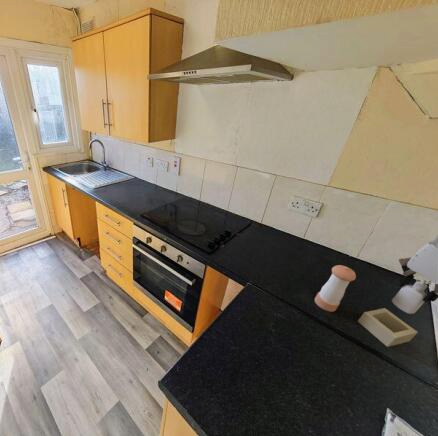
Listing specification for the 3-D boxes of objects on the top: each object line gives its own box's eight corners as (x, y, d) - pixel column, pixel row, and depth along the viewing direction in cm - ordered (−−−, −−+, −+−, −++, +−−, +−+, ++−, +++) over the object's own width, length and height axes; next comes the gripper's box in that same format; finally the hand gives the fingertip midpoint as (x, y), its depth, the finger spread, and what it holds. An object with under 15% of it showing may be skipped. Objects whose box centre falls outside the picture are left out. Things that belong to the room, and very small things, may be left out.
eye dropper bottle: (405, 303, 77) (427, 276, 71) (415, 316, 72) (440, 289, 66) (389, 299, 78) (410, 272, 72) (398, 311, 73) (421, 284, 68)
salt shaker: (334, 315, 86) (359, 277, 77) (312, 304, 91) (333, 267, 81) (337, 303, 91) (360, 267, 82) (316, 294, 95) (336, 258, 86)
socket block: (377, 316, 86) (384, 308, 84) (409, 341, 78) (418, 332, 75) (357, 321, 84) (364, 312, 82) (387, 347, 76) (395, 337, 73)
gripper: (511, 265, 57) (460, 313, 65) (424, 229, 71) (392, 273, 80) (491, 268, 55) (442, 317, 64) (407, 231, 70) (376, 275, 78)
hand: (414, 292), depth 72 cm, fingers closed on eye dropper bottle, 5 cm apart
